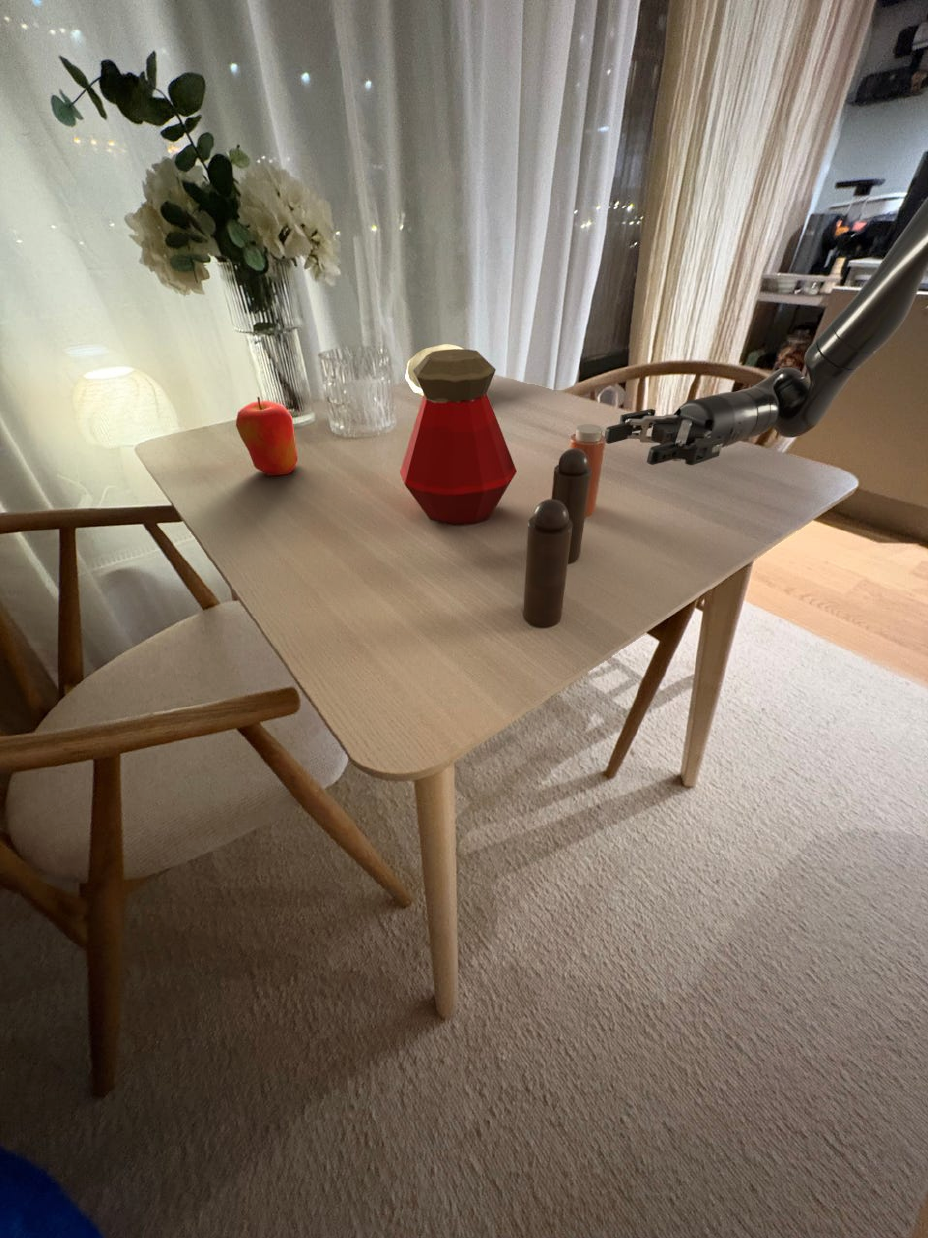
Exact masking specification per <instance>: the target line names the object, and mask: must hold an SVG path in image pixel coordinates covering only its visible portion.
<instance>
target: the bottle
mask: <svg viewBox="0 0 928 1238" xmlns="http://www.w3.org/2000/svg"><path fill="white" fill-rule="evenodd" d="M496 370H497V369H496V368H495V367H494V366H493V365H492V364H491V363H490V362H489V361H488V360H487V359H486V358H485V357H484V356H483V355H482V354H481V353H480V352H479V351H477V350H473V349H464V348H462V349H449V350H440V351H434V352H431V353H430V354H428V355H426V357H425V358H424V359H423V360H422V361H421V362H420V363H419V365H418V366H417V367H416V368H415V369H414V370H413V372H414V374H415V376H416V379H417V381H418V383H419V385H420V387H421V389H422V391H423V394H424V395H423V396H422V398H421V402H420V405H419V408H418V412H417V414H416V418H415V422H414V424H413V429H412V431H411V435H410V438H409V441H408V444H407V448H406V451H405V454H404V457H403V461H402V464H401V467H400V470H399V472H400V476H401V479H402V482H403V483H404V484H403V485H404V486H405V487H406V489H407V491H409V493H410V495H411V496H412V497H413V498H414V500H415V501H416V503H417V504H418V505H419V507H420V509H422V511H423V512H424V514H425V515H426V516H427V517H428V519H429V520H430V521H433V522H436V523H438V524H440V525H449V526H456V527H459V526H467V525H475V524H478V523H481V522H484V521H488V519H489V518H490V516H491V515H492V514H493V512H494V510H495V509H496V507H497V506H498V503H500V500H501V499H502V497H503V496H504V494H505V493H506V490H507V489H508V488H509V486H510V484H511V482H512V480H513V479H514V477H515V475H516V474H517V468H516V466H515V465H516V464H515V463H514V461H513V458H512V455H511V452H510V450H509V447H508V445H507V441H506V439H505V437H504V435H503V432H502V430H501V426H500V424H499V421H498V418H497V416H496V413H495V411H494V408H493V406H492V403H491V401H490V398H489V395H488V392H489V389H490V386H491V384H492V380H493V379H494V376H495V373H496Z"/></svg>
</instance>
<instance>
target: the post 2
mask: <svg viewBox="0 0 928 1238" xmlns="http://www.w3.org/2000/svg"><path fill="white" fill-rule="evenodd" d="M591 472H592V470H591V468H590V467H589V460H588V457H587V455H586V454H585V453H584V452H583V451H582V450H580V449H575V448H574V449H569V448H568V449H567V450H565V451H564V452H563V453H562V454H561V455H560V457H559V460H558V464H557V465H555V466H554V469H553V477H552V487H551V488H552V489H551V499H555V500H558V501H560V502H562V503H563V504H564V505H565V506H566V508H567V510H568V513H569V519H570V520H571V521H572V524H573V526H572V534H571V542H570V550H569V558H568V564H569V565H570V564H573V563H576V562H577V561H579V559H580V556H581V548H582V541H583V534H584V528H585V520H586V516H585V514H586V507H587V500H588V493H589V486H590V479H591Z"/></svg>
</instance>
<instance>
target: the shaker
mask: <svg viewBox="0 0 928 1238" xmlns="http://www.w3.org/2000/svg"><path fill="white" fill-rule="evenodd" d="M574 448H575V449H580V450H582V451H583V452H584V453H585V454H586V455H587V457H588V460H589V467H590V468H591V470H592V472H591V479H590V486H589V493H588V500H587V507H586V514H585V517H588V516H592V515H593V514H594V513H595V511H596V505H597V499H598V493H599V486H600V481H601V480H600V479H601V473H602V467H603V461H604V455H605V448H606V438H605V435H603V428H602V427H601V426H600V425H598V424H591V423H590V424H589V423H587V424H586V423H585V424H580V425H578V426H577V427H576V428H575V433H574V434H572V435H571V436H570V438H569V448H568V450H569V449H574Z"/></svg>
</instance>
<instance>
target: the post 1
mask: <svg viewBox="0 0 928 1238" xmlns="http://www.w3.org/2000/svg"><path fill="white" fill-rule="evenodd" d="M572 526H573V524H572V521H571V520H570V519H569V513H568V510H567V508H566V506H565V505H564V504H563V503H562V502H560V501H558V500H555V499H552V498H551V499H546V500H545V499H544V500H543V501H541V502H540V503H538V505H536V506H535V509H534V510H533V514H532V516H531V517H530V518H529V520H528V522H527V538H526V555H525V569H524V570H525V572H524V587H523V589H524V590H523V603H522V604H523V605H522V606H523V607H522V617H523V619H524V621H525V623H527V624H529V625H530V626H532V627H536V628H540V629H541V628H542V629H545V628H551V627H554V626H556V625H558V624H559V623H560V621H561V619H562V612H563V605H564V597H565V588H566V582H567V581H566V580H567V574H568V558H569V550H570V542H571V534H572Z"/></svg>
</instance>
